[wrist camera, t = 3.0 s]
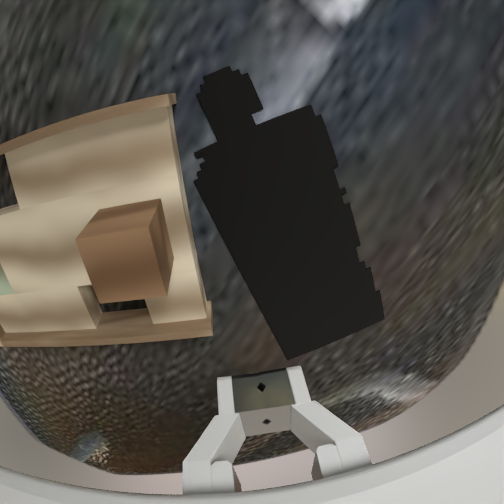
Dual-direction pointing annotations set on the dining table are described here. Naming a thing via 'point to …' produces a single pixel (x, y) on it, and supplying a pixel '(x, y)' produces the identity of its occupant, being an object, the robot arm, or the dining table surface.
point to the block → (127, 252)
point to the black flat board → (284, 217)
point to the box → (77, 217)
